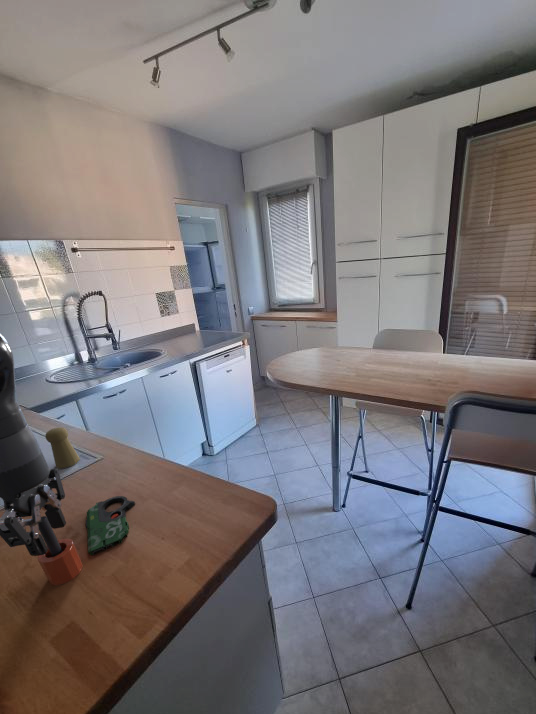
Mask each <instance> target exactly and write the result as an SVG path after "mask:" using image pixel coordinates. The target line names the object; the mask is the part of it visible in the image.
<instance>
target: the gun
mask: <svg viewBox="0 0 536 714" xmlns="http://www.w3.org/2000/svg"><path fill="white" fill-rule="evenodd" d="M118 503H119V504H121V505H120V506H119V507H118V508H116V509H115V510H112V511H107V508H109V507H110V506H111V505H114V504H118ZM135 505H136V501H135V500H129V499H128V497H126V496H123V495H117V496H112V497H110V498H107V499H105V500H102V501H98V502H95V505H93V506H92V507H90V508H89V509H88V510H87V511H86V519H85V528H86V529H87V552H88V555H90V556H95V555H96V553H98V552H100V551H103V552H106V551H105V548H106V550H108V547H110V546H111V547H112V548H113V547H115V544H116V543H119V545H121V544H122V543H123V539H124V538H126V537H127V538H128V534H129V533H130V531H129V530H130V526H129V522H128V521H127V515H126V512H128V511H130V510H131V509H132V508H133V507H134V506H135Z"/></svg>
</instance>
